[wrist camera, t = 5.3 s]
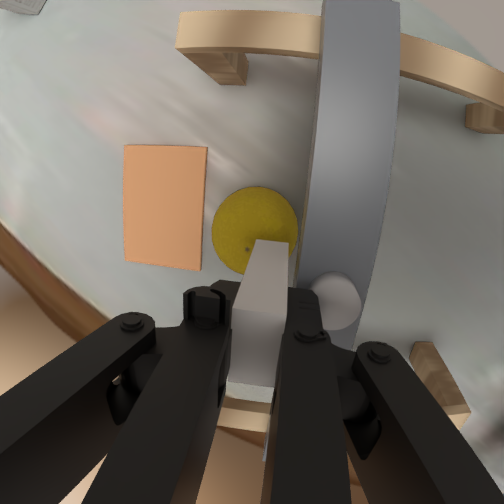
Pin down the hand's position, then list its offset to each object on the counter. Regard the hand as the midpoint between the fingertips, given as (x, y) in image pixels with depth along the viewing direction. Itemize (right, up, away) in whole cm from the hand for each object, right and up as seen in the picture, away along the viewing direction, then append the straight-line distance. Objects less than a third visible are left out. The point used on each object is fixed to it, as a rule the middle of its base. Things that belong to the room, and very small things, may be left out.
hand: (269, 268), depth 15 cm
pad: (-8, +4, +10) cm, 14 cm away
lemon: (0, +4, +10) cm, 10 cm away
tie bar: (+3, 0, 0) cm, 3 cm away
